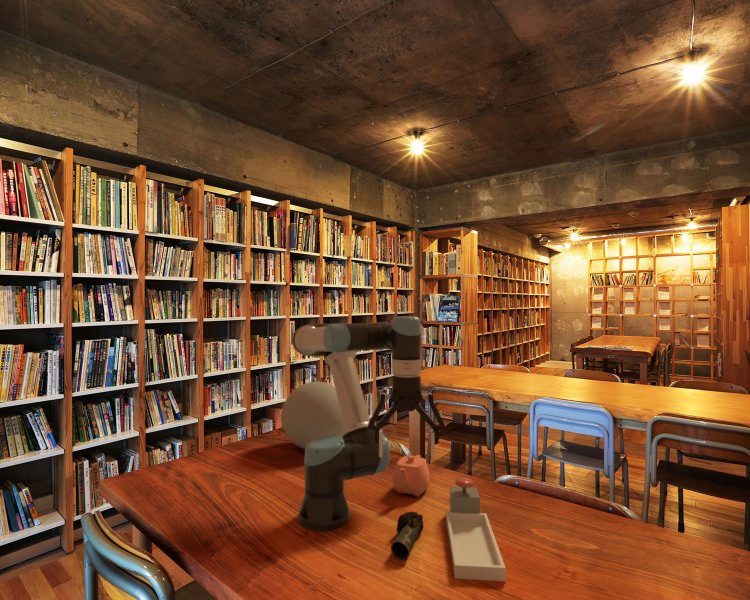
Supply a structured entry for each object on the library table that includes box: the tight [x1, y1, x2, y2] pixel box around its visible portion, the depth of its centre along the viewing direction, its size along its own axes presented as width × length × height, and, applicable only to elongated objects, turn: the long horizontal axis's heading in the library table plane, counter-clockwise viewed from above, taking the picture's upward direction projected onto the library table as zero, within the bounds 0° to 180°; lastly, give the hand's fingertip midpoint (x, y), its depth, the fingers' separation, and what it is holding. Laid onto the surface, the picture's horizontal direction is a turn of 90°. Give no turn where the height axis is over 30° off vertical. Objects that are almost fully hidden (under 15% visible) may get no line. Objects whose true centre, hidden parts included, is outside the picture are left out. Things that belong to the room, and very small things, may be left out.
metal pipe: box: [390, 511, 424, 561], centre depth 113 cm, size 18×7×6 cm, turn 159°
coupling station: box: [445, 477, 507, 582], centre depth 114 cm, size 12×33×11 cm, turn 175°
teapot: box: [392, 454, 430, 497], centre depth 145 cm, size 20×12×12 cm, turn 158°
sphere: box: [281, 381, 345, 450], centre depth 189 cm, size 30×30×30 cm
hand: (406, 456), depth 110 cm, fingers open, 13 cm apart
